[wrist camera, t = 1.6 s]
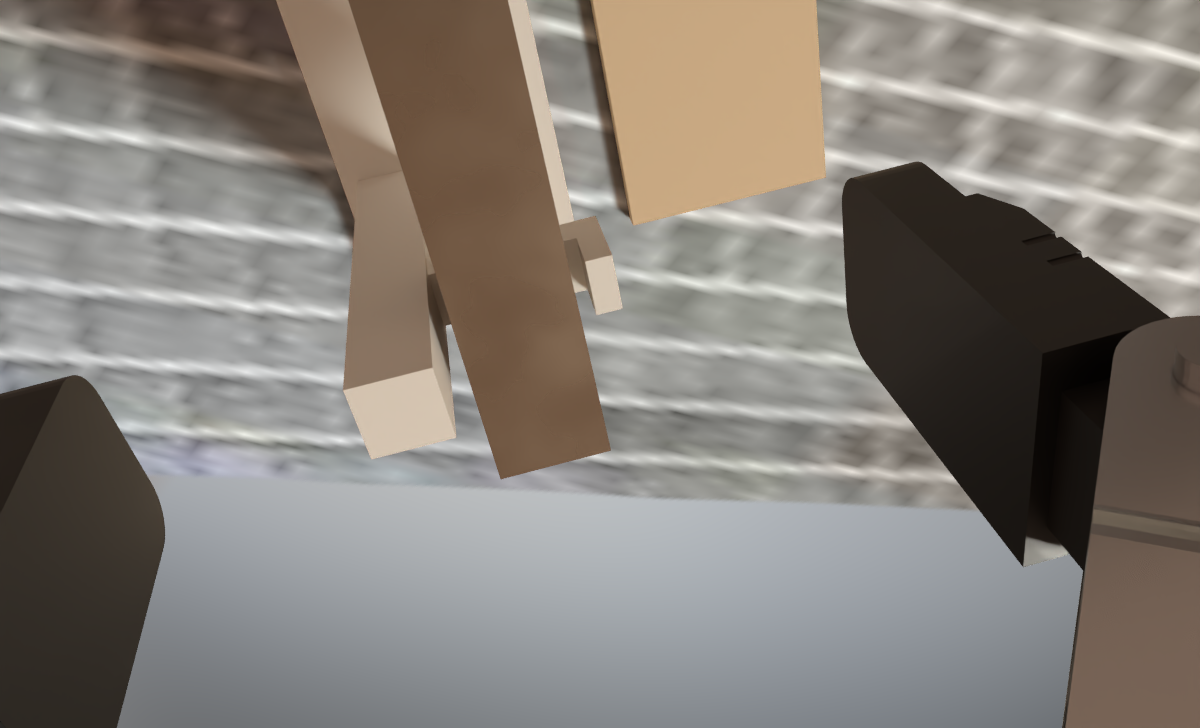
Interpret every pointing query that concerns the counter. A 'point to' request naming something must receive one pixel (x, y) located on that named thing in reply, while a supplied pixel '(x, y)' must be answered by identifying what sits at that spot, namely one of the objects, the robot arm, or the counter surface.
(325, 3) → the rack
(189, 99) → the counter surface
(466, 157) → the rail
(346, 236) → the counter surface
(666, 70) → the tray
